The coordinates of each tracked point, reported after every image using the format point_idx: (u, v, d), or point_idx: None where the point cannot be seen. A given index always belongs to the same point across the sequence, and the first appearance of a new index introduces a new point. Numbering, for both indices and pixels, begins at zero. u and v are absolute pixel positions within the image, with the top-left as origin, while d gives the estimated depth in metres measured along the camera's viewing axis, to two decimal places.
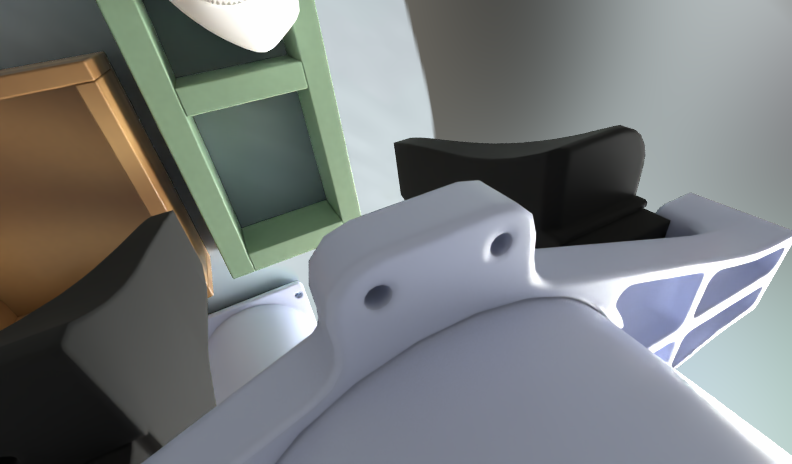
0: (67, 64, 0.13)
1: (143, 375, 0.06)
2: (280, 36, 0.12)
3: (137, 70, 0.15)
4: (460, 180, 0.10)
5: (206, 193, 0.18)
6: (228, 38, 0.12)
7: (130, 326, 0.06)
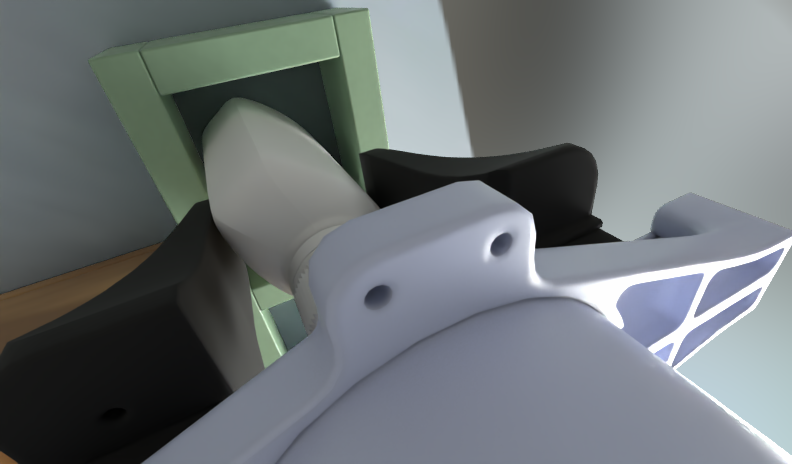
0: None
1: (224, 342, 0.06)
2: None
3: None
4: (417, 195, 0.10)
5: None
6: None
7: (210, 296, 0.06)
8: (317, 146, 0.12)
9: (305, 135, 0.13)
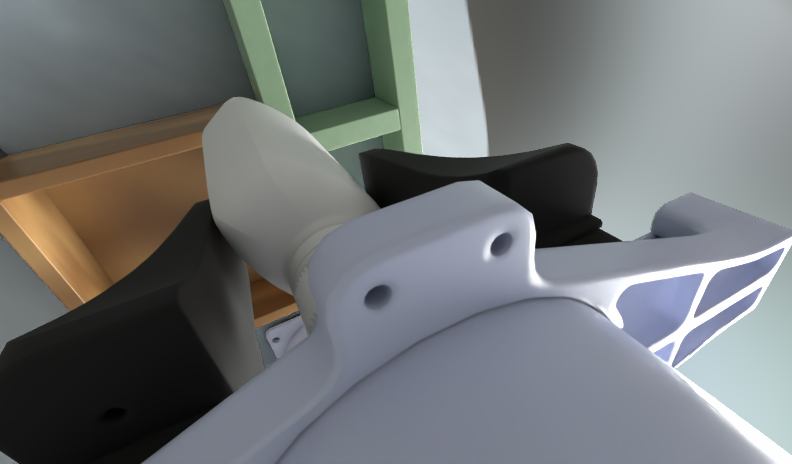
0: None
1: (224, 342, 0.06)
2: None
3: None
4: (417, 195, 0.10)
5: None
6: None
7: (210, 297, 0.06)
8: (317, 145, 0.12)
9: (305, 134, 0.13)
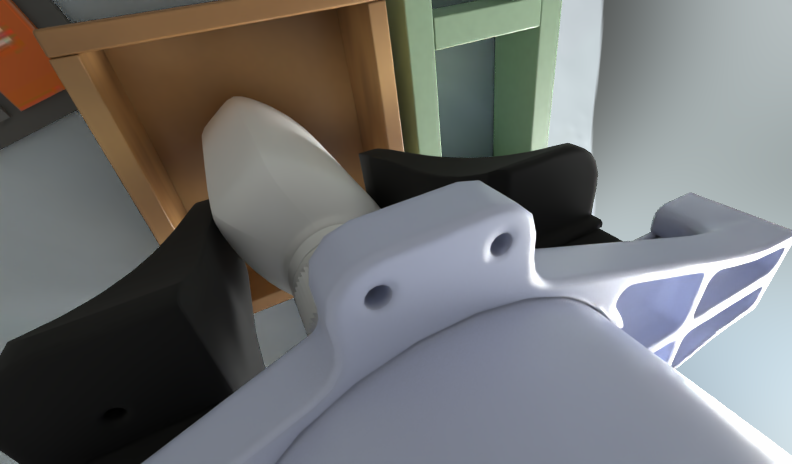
0: None
1: (224, 342, 0.06)
2: None
3: None
4: (417, 195, 0.10)
5: (429, 136, 0.17)
6: None
7: (210, 296, 0.06)
8: (317, 145, 0.12)
9: (305, 134, 0.13)
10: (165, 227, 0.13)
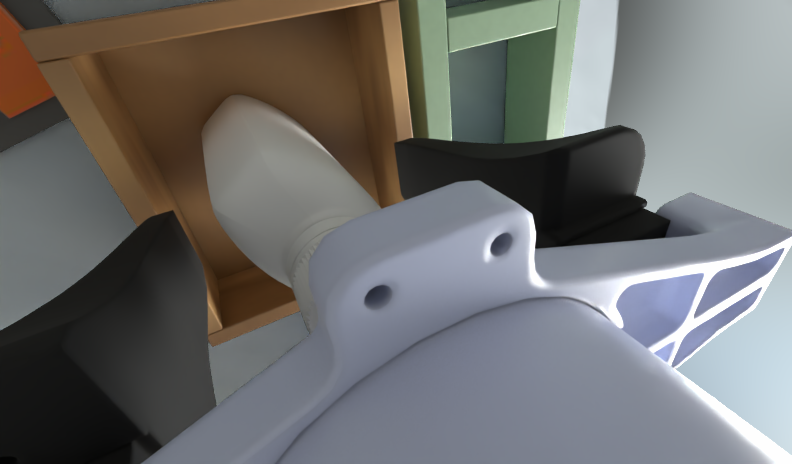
0: None
1: (143, 375, 0.06)
2: None
3: None
4: (460, 180, 0.10)
5: None
6: None
7: (131, 326, 0.06)
8: (315, 142, 0.13)
9: (303, 131, 0.13)
10: None
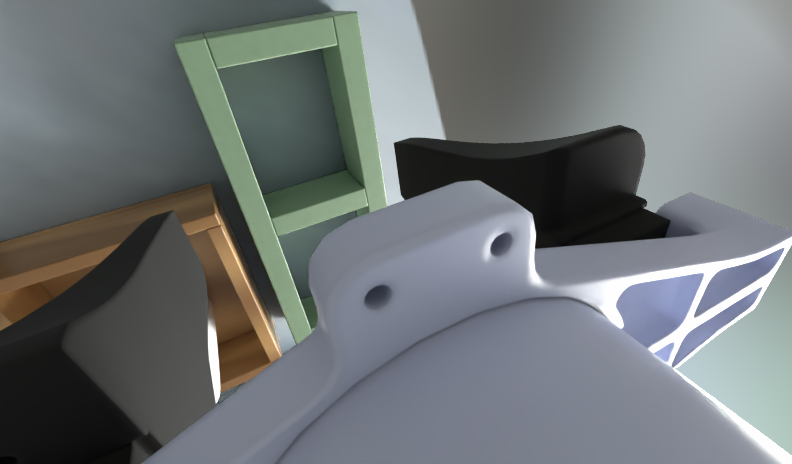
0: (203, 216, 0.18)
1: (143, 375, 0.06)
2: None
3: (247, 210, 0.19)
4: (460, 180, 0.10)
5: (284, 288, 0.22)
6: None
7: (131, 326, 0.06)
8: None
9: None
10: None
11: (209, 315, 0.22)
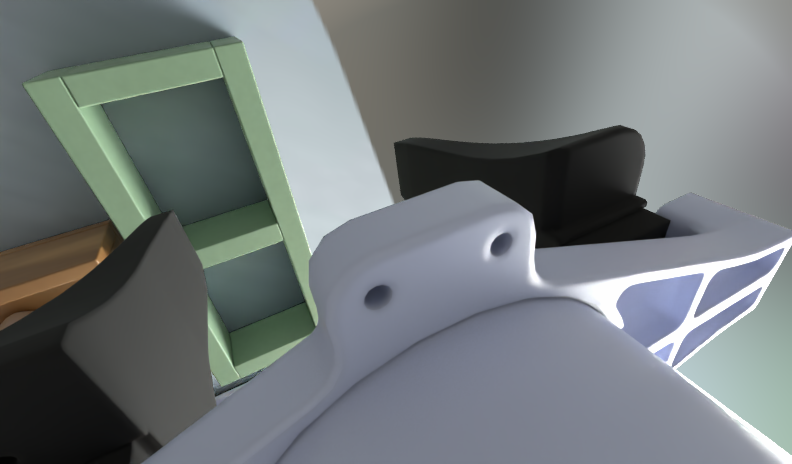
0: (82, 263, 0.16)
1: (143, 375, 0.06)
2: None
3: None
4: (460, 180, 0.10)
5: None
6: None
7: (131, 326, 0.06)
8: None
9: None
10: None
11: None
